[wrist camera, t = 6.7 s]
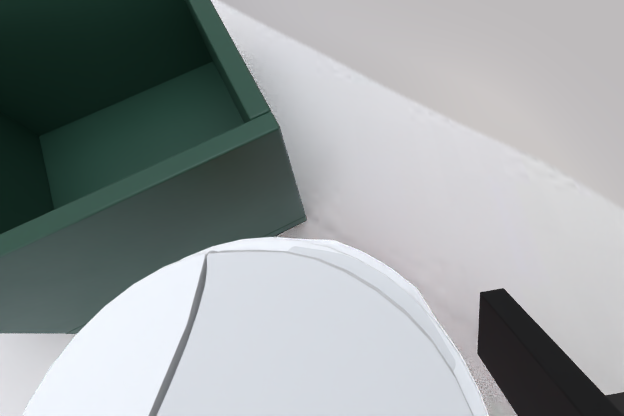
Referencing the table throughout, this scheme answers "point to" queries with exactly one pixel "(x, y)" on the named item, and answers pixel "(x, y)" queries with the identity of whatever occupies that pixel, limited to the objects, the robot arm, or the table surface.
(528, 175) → the table surface
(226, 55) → the open storage bin
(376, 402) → the paper cup
